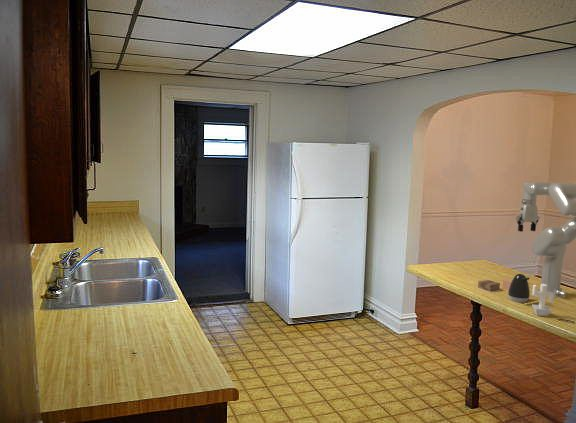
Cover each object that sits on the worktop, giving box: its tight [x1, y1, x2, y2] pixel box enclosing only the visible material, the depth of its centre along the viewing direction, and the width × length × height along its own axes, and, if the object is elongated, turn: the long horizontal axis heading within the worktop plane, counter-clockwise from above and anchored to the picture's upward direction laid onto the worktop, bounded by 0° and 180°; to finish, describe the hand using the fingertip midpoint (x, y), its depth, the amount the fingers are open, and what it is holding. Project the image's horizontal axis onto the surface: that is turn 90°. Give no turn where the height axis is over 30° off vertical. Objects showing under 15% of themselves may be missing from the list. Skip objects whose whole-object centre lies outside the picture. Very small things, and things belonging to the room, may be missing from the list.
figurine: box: [531, 283, 555, 317], centre depth 242 cm, size 7×9×15 cm
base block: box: [477, 279, 501, 293], centre depth 281 cm, size 8×8×4 cm
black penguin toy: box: [507, 273, 531, 304], centre depth 261 cm, size 10×10×15 cm
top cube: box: [501, 278, 513, 291], centre depth 282 cm, size 5×5×5 cm
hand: (526, 231), depth 299 cm, fingers open, 9 cm apart
